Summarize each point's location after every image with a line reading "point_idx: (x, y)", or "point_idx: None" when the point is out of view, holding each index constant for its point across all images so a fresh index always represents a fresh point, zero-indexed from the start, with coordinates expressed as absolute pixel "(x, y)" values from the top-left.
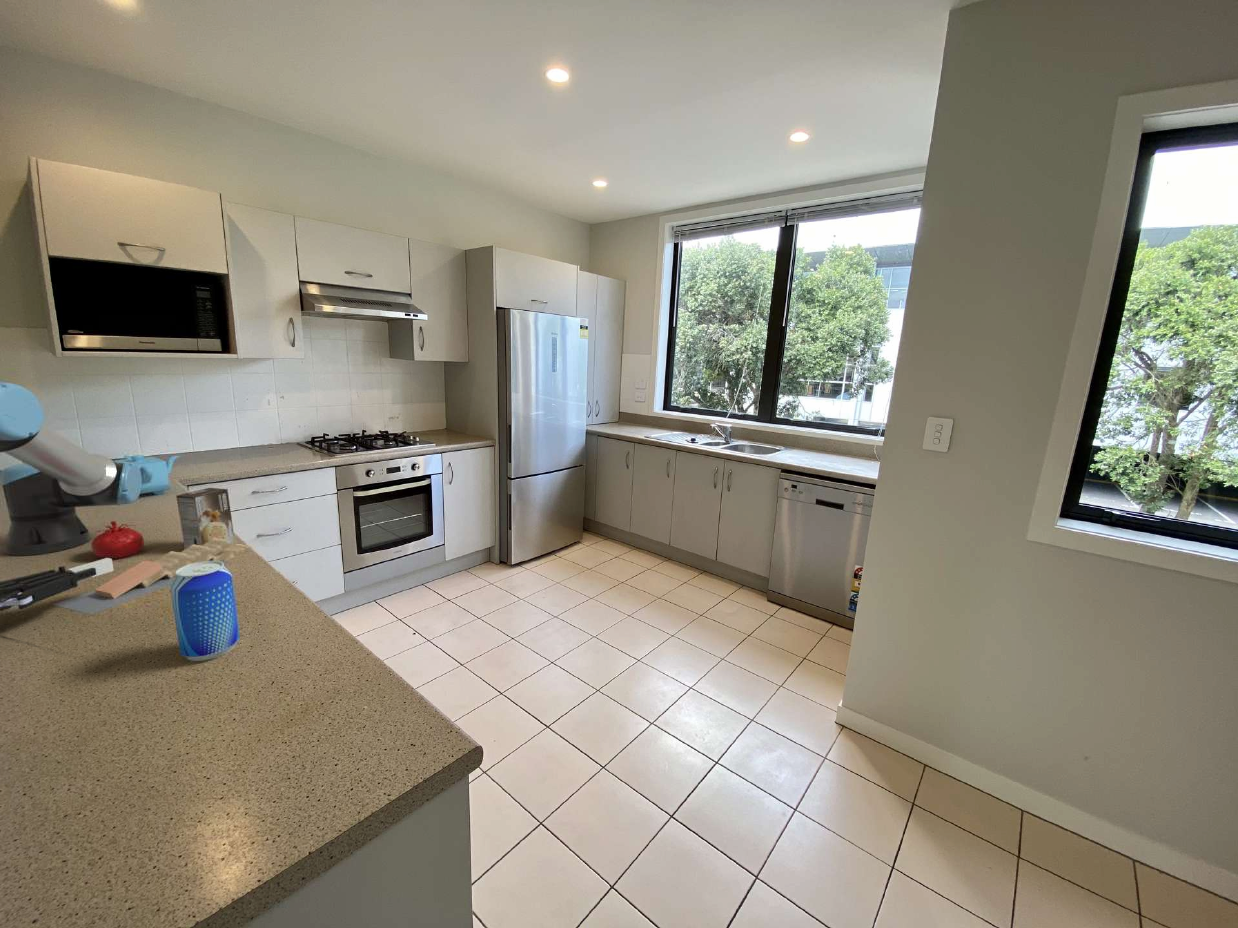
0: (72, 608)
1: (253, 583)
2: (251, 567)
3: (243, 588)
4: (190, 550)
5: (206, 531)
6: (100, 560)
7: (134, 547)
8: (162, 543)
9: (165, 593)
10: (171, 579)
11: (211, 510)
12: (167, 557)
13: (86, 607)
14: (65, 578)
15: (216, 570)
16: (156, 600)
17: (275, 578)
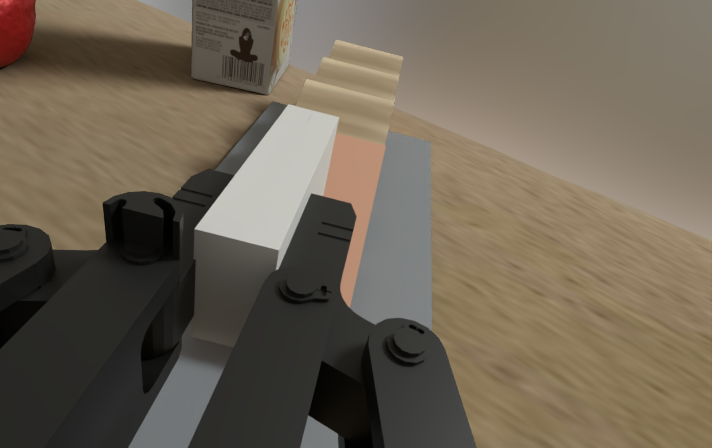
0: None
1: (654, 244)
2: (504, 165)
3: (678, 271)
4: (344, 83)
5: (282, 10)
6: (290, 125)
7: (24, 35)
8: (54, 32)
9: (474, 302)
10: (375, 212)
11: None
12: (326, 109)
13: None
14: (460, 437)
15: None
16: (523, 359)
17: (663, 221)
